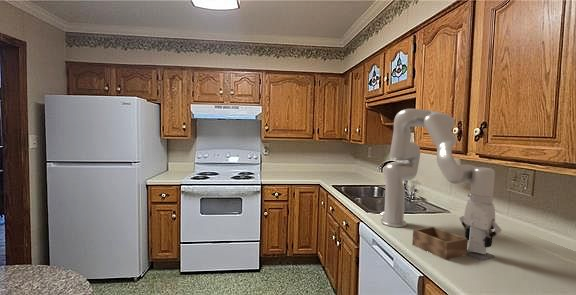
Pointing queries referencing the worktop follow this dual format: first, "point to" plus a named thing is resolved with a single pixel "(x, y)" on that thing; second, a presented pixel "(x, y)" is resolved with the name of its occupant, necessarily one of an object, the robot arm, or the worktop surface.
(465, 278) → the worktop surface
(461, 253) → the crate
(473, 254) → the mat
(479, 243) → the skincare box
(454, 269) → the worktop surface
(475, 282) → the worktop surface
